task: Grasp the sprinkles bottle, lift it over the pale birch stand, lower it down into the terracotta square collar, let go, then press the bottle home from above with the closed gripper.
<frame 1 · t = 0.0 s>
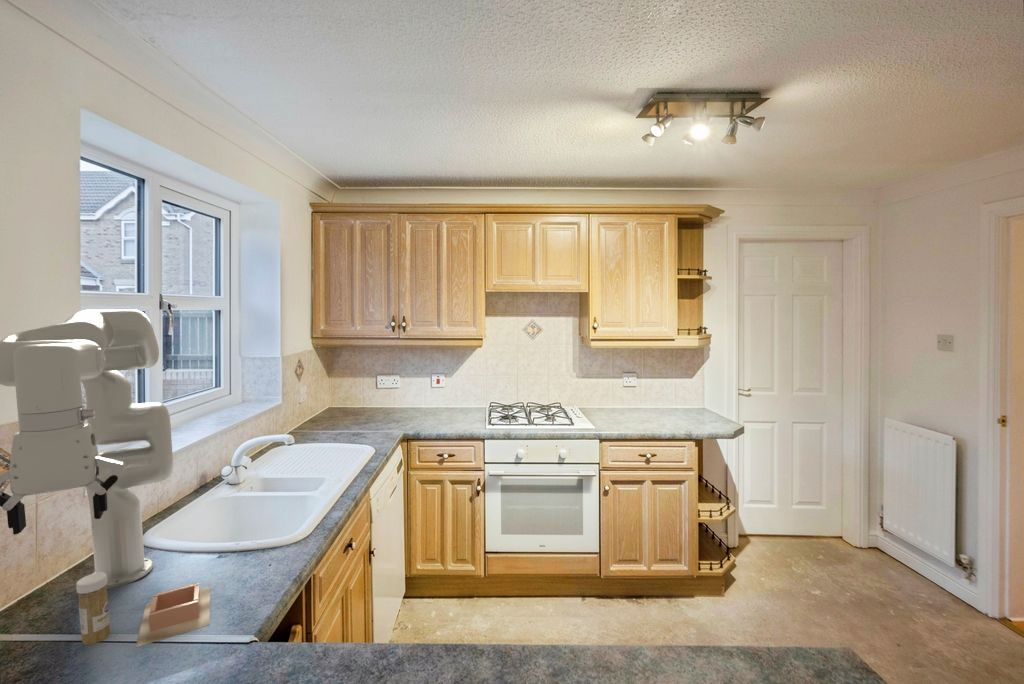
hand: (60, 523, 78), 31 cm above the countertop, tool pointing down, fingers open, 9 cm apart
sprinkles bottle: (96, 643, 95), on the countertop
stand board: (176, 619, 101), on the countertop
collar: (176, 613, 101), resting on stand board
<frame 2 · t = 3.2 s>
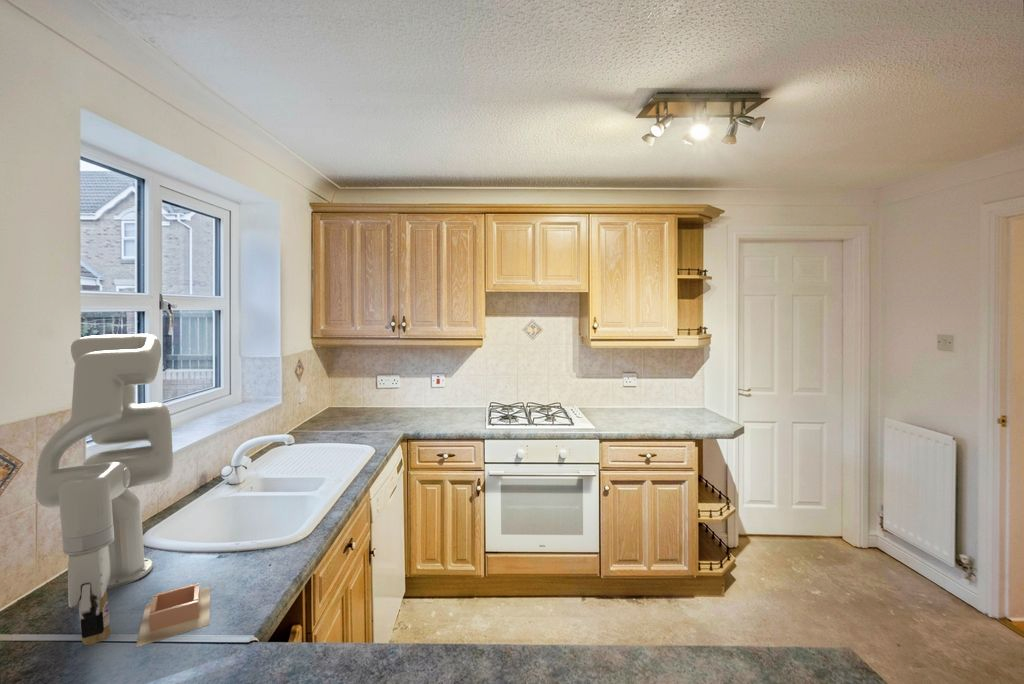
hand: (95, 626, 94), 3 cm above the countertop, tool pointing down, fingers closed on sprinkles bottle, 4 cm apart
sprinkles bottle: (96, 643, 95), on the countertop, touching gripper
when the fingers open (6 cm above the countertop, at t = 9.4 s): sprinkles bottle drops 1 cm, resting on stand board.
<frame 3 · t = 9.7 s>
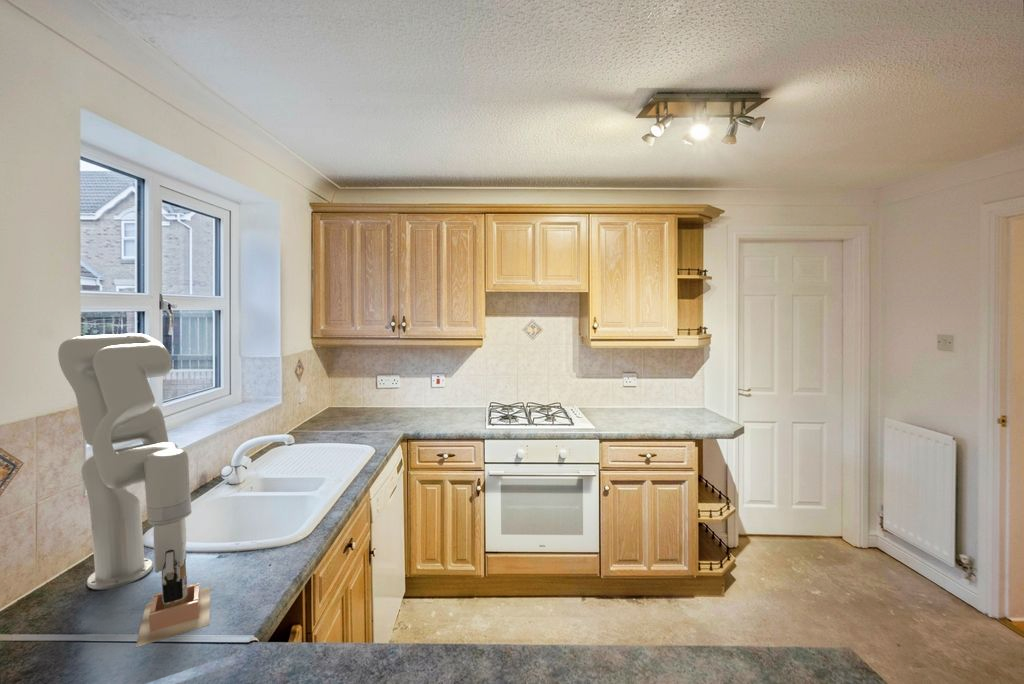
hand: (175, 589, 101), 7 cm above the countertop, tool pointing down, fingers open, 7 cm apart
sprinkles bottle: (175, 614, 101), point 1 cm above the countertop, touching stand board
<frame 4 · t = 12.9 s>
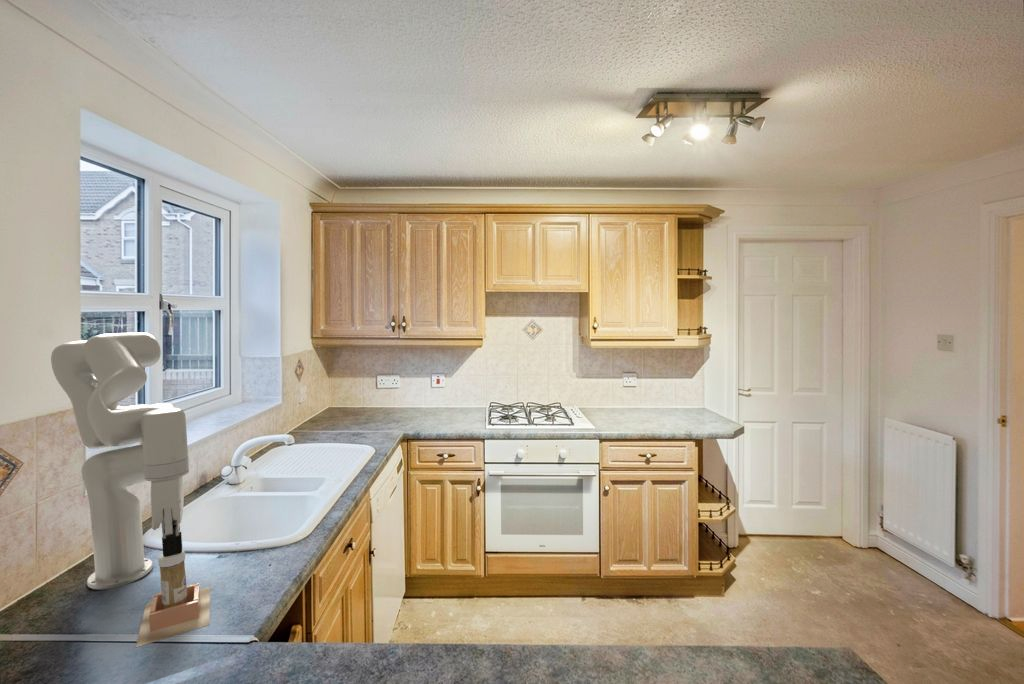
hand: (173, 553, 100), 15 cm above the countertop, tool pointing down, fingers closed
sprinkles bottle: (175, 614, 101), point 1 cm above the countertop, touching gripper, stand board
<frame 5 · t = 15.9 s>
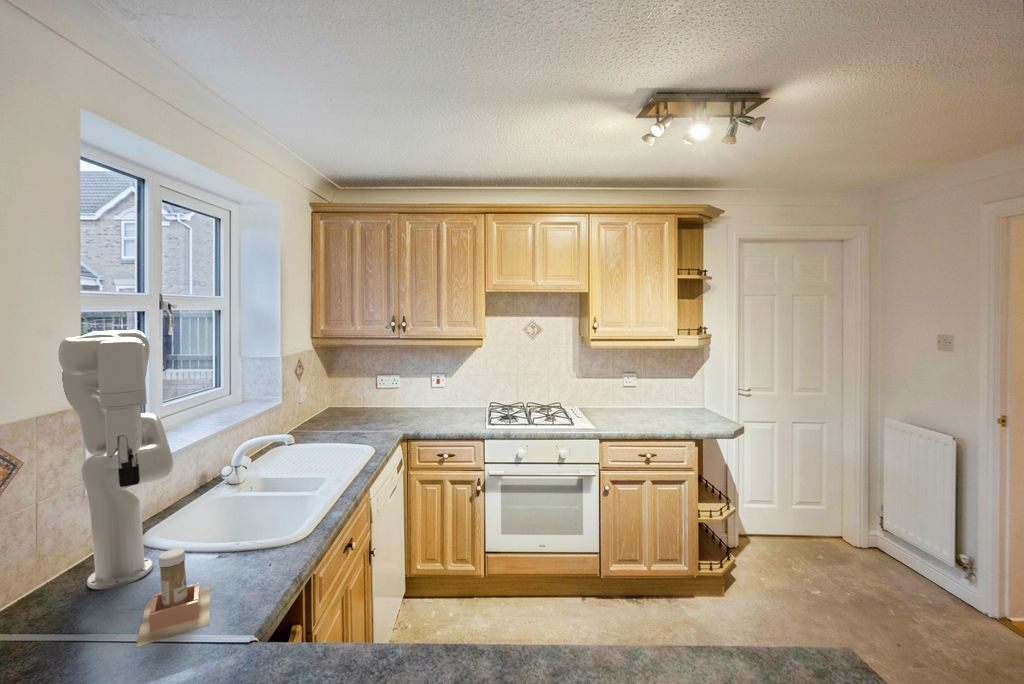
hand: (129, 484, 101), 29 cm above the countertop, tool pointing down, fingers closed
sprinkles bottle: (175, 614, 101), point 1 cm above the countertop, touching stand board
at the end: sprinkles bottle 0.3 cm off-centre on the collar, point 0.0 cm above the collar's base; sprinkles bottle tilted 0°; the gripper is holding nothing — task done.
